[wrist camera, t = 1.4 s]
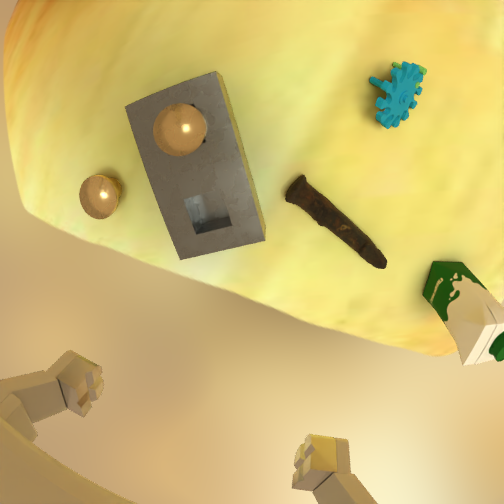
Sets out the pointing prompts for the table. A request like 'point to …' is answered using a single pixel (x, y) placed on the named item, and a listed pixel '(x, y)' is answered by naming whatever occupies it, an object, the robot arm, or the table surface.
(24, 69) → the table surface
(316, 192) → the hand tool
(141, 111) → the block
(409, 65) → the teal cog wheel
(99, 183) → the tan dome cap
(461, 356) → the milk carton
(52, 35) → the table surface
